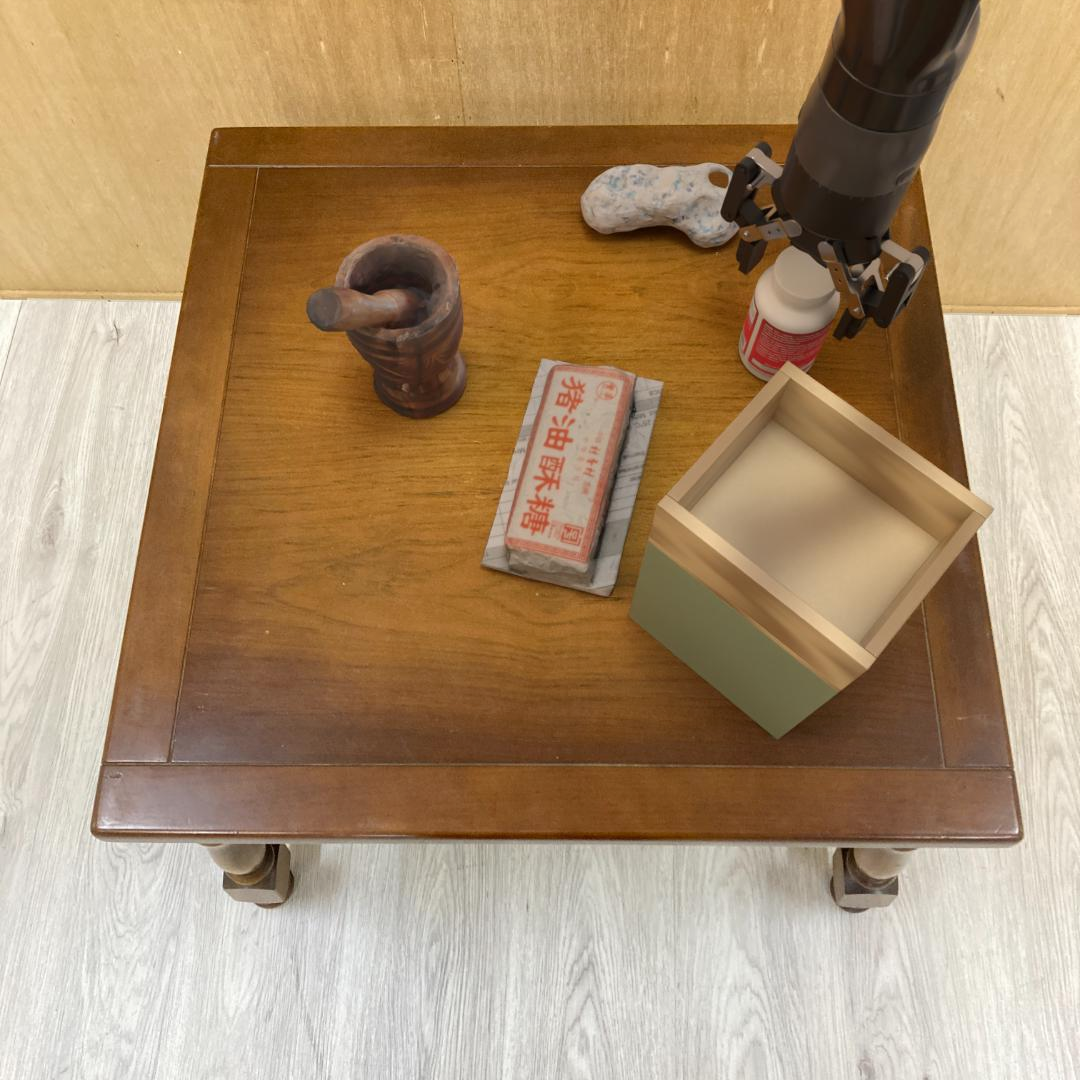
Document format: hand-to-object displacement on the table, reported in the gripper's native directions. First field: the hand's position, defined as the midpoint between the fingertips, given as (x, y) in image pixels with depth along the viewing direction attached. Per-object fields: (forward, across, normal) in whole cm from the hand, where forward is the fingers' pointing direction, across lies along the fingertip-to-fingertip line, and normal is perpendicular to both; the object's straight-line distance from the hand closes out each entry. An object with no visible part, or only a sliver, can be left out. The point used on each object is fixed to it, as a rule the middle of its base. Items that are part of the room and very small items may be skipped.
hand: (795, 297), depth 75 cm
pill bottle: (+8, 0, 0) cm, 8 cm away
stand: (+8, -12, +19) cm, 24 cm away
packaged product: (+8, +5, +19) cm, 21 cm away
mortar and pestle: (+8, +19, +22) cm, 30 cm away
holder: (-8, -12, +19) cm, 24 cm away
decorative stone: (+8, +15, -4) cm, 17 cm away
